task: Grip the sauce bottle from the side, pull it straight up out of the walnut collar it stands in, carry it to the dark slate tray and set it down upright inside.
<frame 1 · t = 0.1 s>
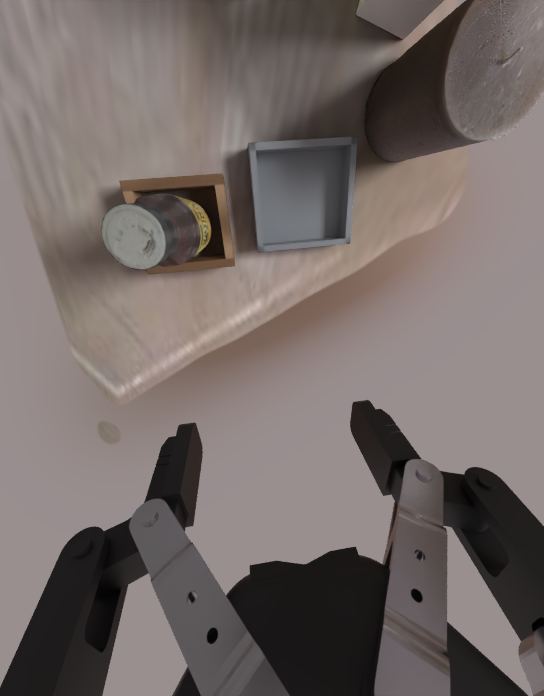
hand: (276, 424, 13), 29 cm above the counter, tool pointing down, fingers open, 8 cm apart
pillar candle: (402, 115, 32), on the counter
tray: (299, 198, 34), on the counter
collar: (187, 225, 34), on the counter
sauce bottle: (187, 225, 34), resting in collar
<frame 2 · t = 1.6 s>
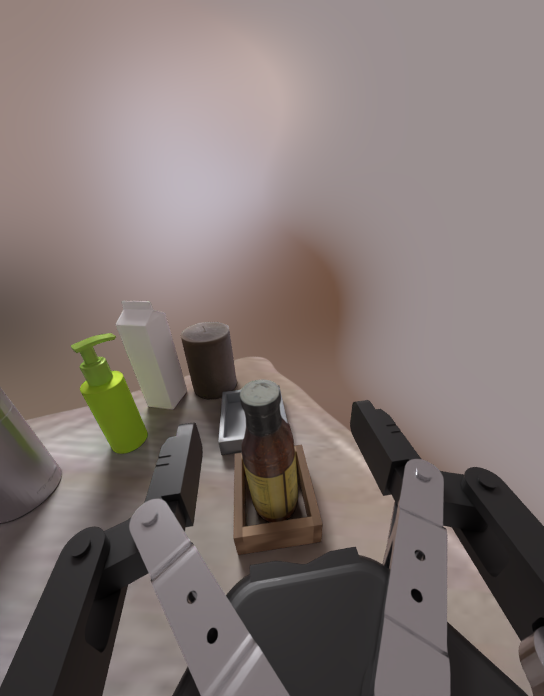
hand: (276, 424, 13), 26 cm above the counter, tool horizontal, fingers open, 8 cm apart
pillar candle: (216, 385, 59), on the counter
soap dispenser: (133, 438, 47), on the counter
tray: (254, 422, 48), on the counter
collar: (274, 501, 36), on the counter
milk: (168, 399, 56), on the counter
sauce bottle: (274, 502, 36), resting in collar
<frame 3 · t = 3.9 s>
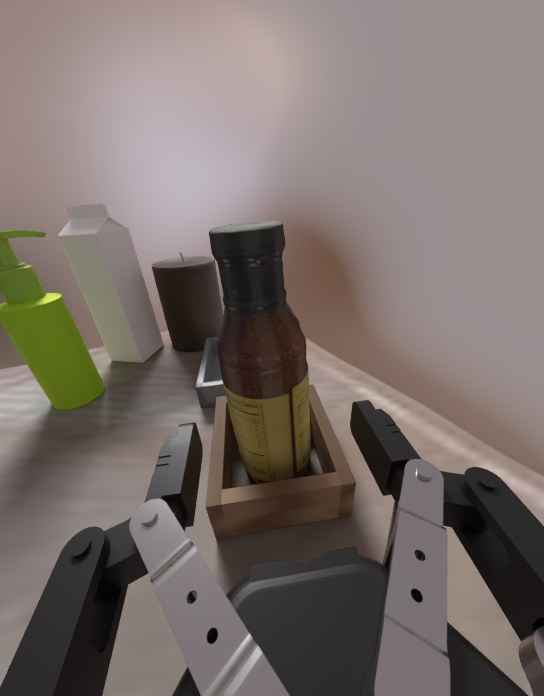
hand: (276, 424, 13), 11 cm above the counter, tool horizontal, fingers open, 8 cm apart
pillar candle: (200, 339, 47), on the counter
soap dispenser: (84, 394, 35), on the counter
tray: (246, 372, 37), on the counter
collar: (274, 462, 24), on the counter
milk: (139, 353, 44), on the counter
sauce bottle: (275, 463, 24), resting in collar
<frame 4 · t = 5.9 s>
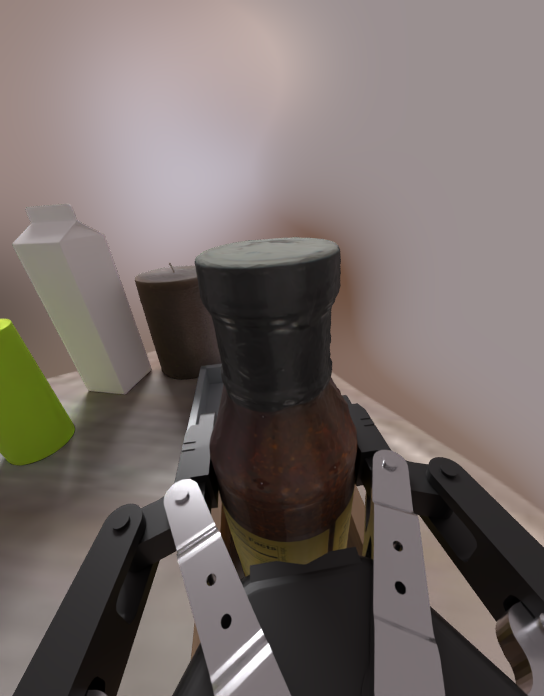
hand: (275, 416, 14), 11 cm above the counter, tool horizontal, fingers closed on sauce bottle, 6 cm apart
pillar candle: (195, 362, 41), on the counter
soap dispenser: (49, 439, 28), on the counter
tray: (249, 411, 30), on the counter
collar: (290, 566, 17), on the counter
milk: (122, 380, 37), on the counter
sauce bottle: (290, 567, 17), resting in collar, touching gripper
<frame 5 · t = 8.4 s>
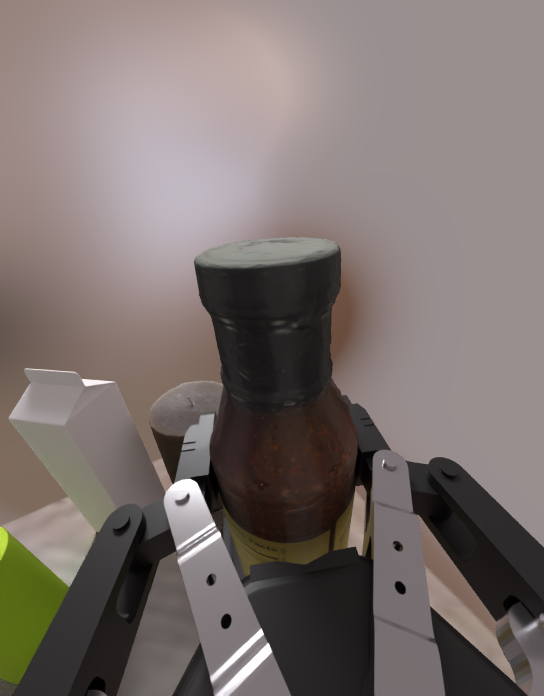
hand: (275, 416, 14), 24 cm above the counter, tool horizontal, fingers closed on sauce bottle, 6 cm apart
pillar candle: (212, 478, 37), on the counter
soap dispenser: (54, 628, 25), on the counter
tray: (283, 582, 26), on the counter
milk: (133, 511, 34), on the counter
sauce bottle: (290, 568, 17), point 12 cm above the counter, touching gripper
when the fingers open (13 cm above the counter, at t = 11.3 s): sauce bottle moves 1 cm, resting on tray.
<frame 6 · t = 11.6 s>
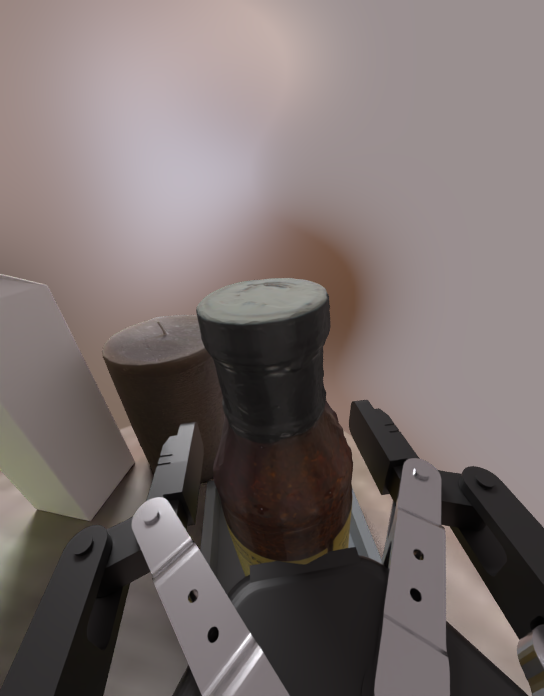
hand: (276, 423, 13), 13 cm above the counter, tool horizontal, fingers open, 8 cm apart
pillar candle: (197, 446, 29), on the counter
tray: (290, 579, 18), on the counter
milk: (90, 485, 25), on the counter
sauce bottle: (294, 579, 18), resting on tray
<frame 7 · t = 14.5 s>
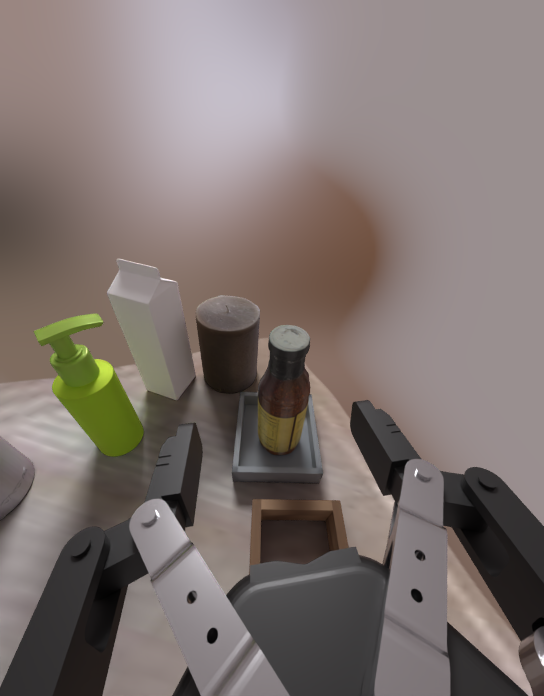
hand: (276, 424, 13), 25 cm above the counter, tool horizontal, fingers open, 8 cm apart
pillar candle: (231, 373, 48), on the counter
soap dispenser: (125, 435, 38), on the counter
tray: (275, 438, 39), on the counter
collar: (295, 568, 28), on the counter
milk: (172, 383, 46), on the counter
sauce bottle: (277, 438, 39), resting on tray
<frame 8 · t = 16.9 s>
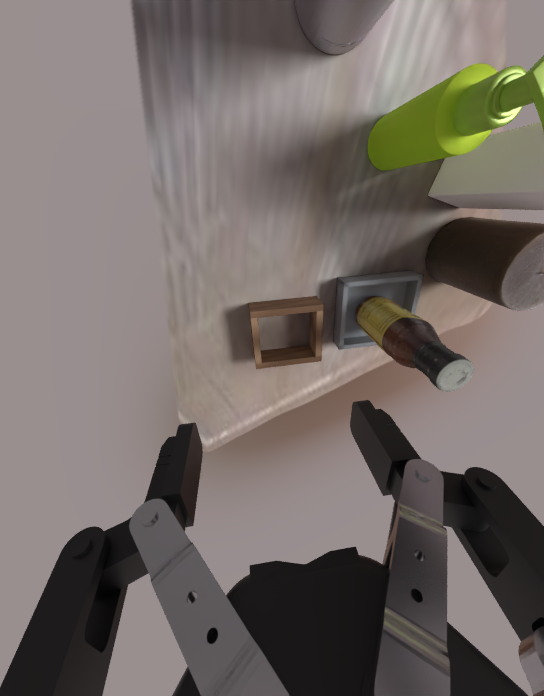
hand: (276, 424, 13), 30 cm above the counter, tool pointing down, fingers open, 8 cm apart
pillar candle: (453, 251, 42), on the counter
soap dispenser: (390, 146, 34), on the counter
tray: (370, 307, 44), on the counter
collar: (284, 327, 44), on the counter
milk: (454, 178, 36), on the counter
sauce bottle: (369, 310, 44), resting on tray
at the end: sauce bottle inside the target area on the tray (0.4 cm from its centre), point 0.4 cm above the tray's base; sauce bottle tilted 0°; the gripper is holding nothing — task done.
